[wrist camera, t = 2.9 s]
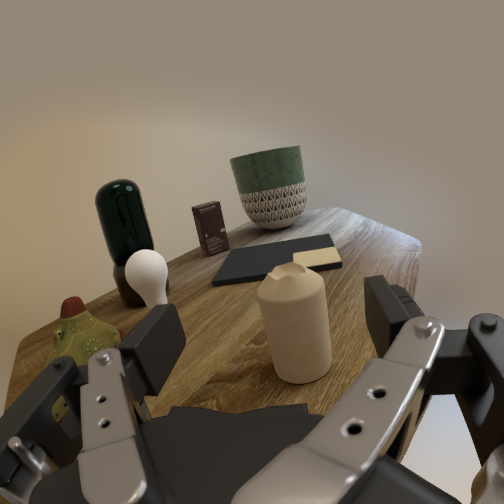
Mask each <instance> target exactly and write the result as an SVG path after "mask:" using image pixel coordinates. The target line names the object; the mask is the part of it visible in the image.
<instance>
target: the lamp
mask: <svg viewBox="0 0 504 504" xmlns="http://www.w3.org/2000/svg"><path fill="white" fill-rule="evenodd" d="M95 205H96V209H97V213H98V217H99V220H100V224H101V227H102V231H103V234H104V238H105V241H106V245H107V248H108V251H109V254H110V257H111V259H112V260H113V262H114V269H113V276H114V279H115V282H116V284H117V287H118V290H119V293H120V296H121V298H122V300H123V301H124V302H125V303H127V304H129V305H143V304H146V303H145V302H144V300H143V298H142V297H141V296H140V295H139V294H138V293H137V292H136V291H135V290H134V289H133V288H132V287H131V286H130V285H129V283H128V282H127V280H126V277H125V267H126V263H127V261H128V259H129V258H130V257H131V256H132V255H133V254H134V253H135V252H137V251H140V250H146V249H147V250H152V251H154V243H153V238H152V235H151V231H150V228H149V224H148V220H147V216H146V212H145V209H144V205H143V201H142V197H141V193H140V189H139V187H138V186H137V185H136V183H135V182H133V181H131V180H128V179H118V180H114V181H111V182H109V183H107V184H105V185H103V186H102V187H101V188H100V189H99V190H98V192H97V194H96V197H95ZM155 252H156V251H155ZM168 287H169V281H168V278H167V281H166V288H165V291H166V292H167V290H168Z"/></svg>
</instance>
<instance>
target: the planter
mask: <svg viewBox="0 0 504 504" xmlns="http://www.w3.org/2000/svg"><path fill="white" fill-rule="evenodd" d="M230 163H231V167H232V170H233V174H234V177H235V181H236V184H237V188H238V192H239V195H240V199H241V202H242V205H243V208H244V210H245V212H246V214H247V215H248V217H249V218H250V219H251V220H252V221H253V222H254V223H255V224H257V225H258V226H260V227H262V228H265V229H281V228H285V227H288V226H290V225H292V224H293V223H295V222H296V221H297V220H298V219H299V217H300V216H301V214H302V213H303V211H304V208H305V204H306V187H305V178H304V171H303V164H302V157H301V151H300V146H291V147H284V148H278V149H272V150H266V151H261V152H257V153H252V154H248V155H243V156H239V157H236V158H232V159H230Z"/></svg>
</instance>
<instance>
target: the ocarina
mask: <svg viewBox="0 0 504 504" xmlns="http://www.w3.org/2000/svg"><path fill="white" fill-rule="evenodd" d="M123 336H124V334H123V331H122V330H120V329H118V328H116V327H114V326H112V325H110V324H107V323H104V322H102V321H99V320H97V319H95V318H94V317H93V316H92V315H90V313H89V312H88V311H87V309H86V307H85V305H84V304H83V302H82V300H81V299H80V298H79V297H70V298H68V299H66V300H64V302H63V304H62V306H61V314H60V320H59V326H58V328H57V329H56V330H55V331H54V342H53V345H52V347H51V350H50V353H49V355H48V358H47V361H46V364H45V367H44V369H45V368H46V367H47V366H48V365H49V364H50V363H51V362H52V361H53V360H55V359H56V358H59V357H61V356H66V355H69V356H72V357H73V359H74V360H75V362H76V364H77V366H80V365H86V364H88V361H89V359H90V357H91V356H92V355H94V354H95V353H96V352H98V351H100V350H103V349H106V348H116V347H117V346H118V345H119V344H120V343H121V341H122V340H123ZM69 410H70V407H69V406H68V404H67V403H66V401H65V400H64V398H63V397H62V395H61V396H60V397H59V398H58V400H57V401H56V402H55V403H54V405H53V407H52V415H53V417H54V419H55V420H56V421H57V423H58V422H59V421H60V420H61V419H62V418H63V417H64V416H65V415H66V414H67V413H68V411H69Z"/></svg>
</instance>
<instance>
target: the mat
mask: <svg viewBox="0 0 504 504" xmlns="http://www.w3.org/2000/svg"><path fill="white" fill-rule="evenodd" d="M289 262H294V263H297V264H299V265H302V266H304V267H306V268H308V269H310V270H312V271H314V272H316V271H322V270H328V269H334V268H340V267H342V261H341V259H340V256H339V254H338V252H337V250H336V247H335V246H334V244H333V241H332V239H331V237H330V235H329V234H324V235H318V236H312V237H305V238H299V239H293V240H287V241H281V242H275V243H269V244H263V245H257V246H251V247H245V248H239V249H233V250H232V251H231V252H230V254H229V255H228V257H227V259H226V260H225V262H224V263H223V265H222V266H221V268H220V270H219V271H218V273H217V274H216V276H215V277H214V279H213V281H212V283H213V286H221V285H228V284H235V283H242V282H250V281H256V280H263V279H265V278H266V276H267V274H268V273H271V272H272V271H273V269H274V268H275V267H277V266H280V265H283V264H286V263H289Z"/></svg>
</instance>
